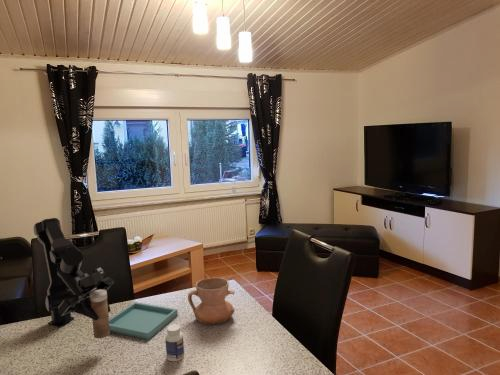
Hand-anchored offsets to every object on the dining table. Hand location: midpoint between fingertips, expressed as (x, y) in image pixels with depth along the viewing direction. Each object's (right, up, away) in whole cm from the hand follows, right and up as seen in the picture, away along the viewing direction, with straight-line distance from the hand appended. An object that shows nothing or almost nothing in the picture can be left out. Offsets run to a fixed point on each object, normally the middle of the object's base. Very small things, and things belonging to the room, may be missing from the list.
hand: (103, 315), depth 113 cm
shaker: (-1, -6, +1) cm, 7 cm away
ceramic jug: (+32, -9, +21) cm, 40 cm away
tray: (+6, -10, +20) cm, 23 cm away
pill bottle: (+23, -12, -2) cm, 26 cm away
